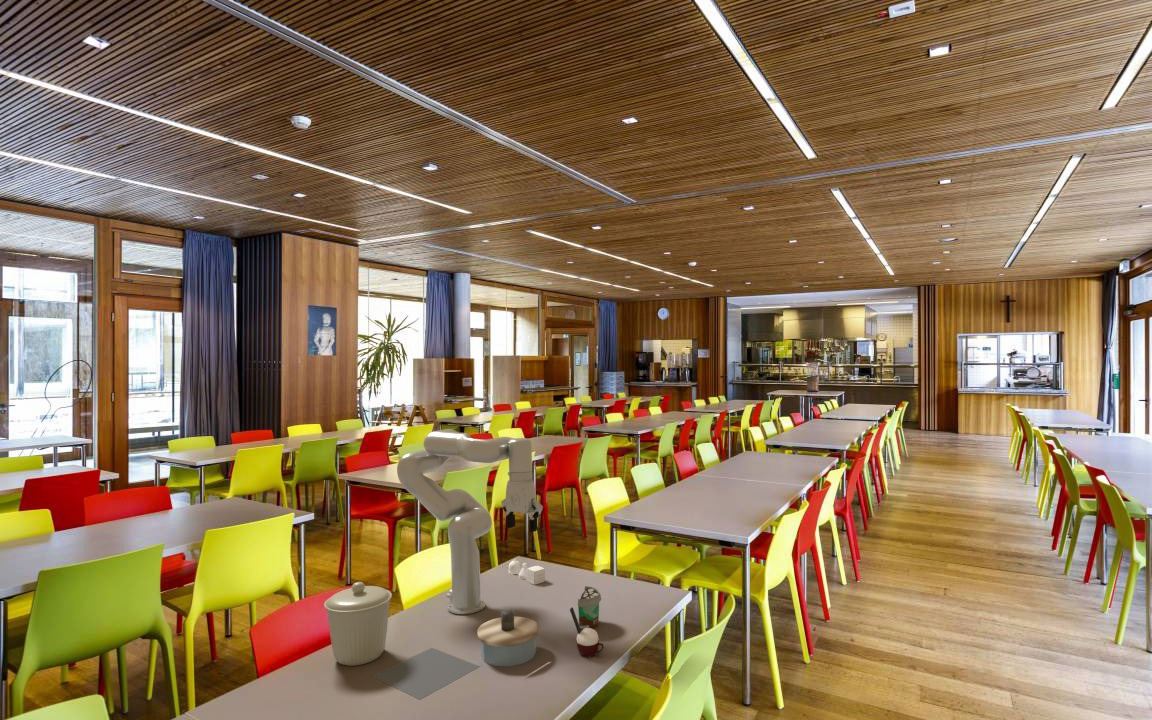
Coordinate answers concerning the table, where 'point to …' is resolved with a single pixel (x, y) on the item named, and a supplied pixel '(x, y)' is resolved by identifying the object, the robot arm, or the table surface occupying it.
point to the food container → (589, 608)
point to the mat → (425, 672)
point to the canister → (358, 623)
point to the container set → (527, 572)
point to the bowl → (508, 653)
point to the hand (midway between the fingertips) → (522, 529)
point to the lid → (507, 630)
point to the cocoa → (586, 639)
